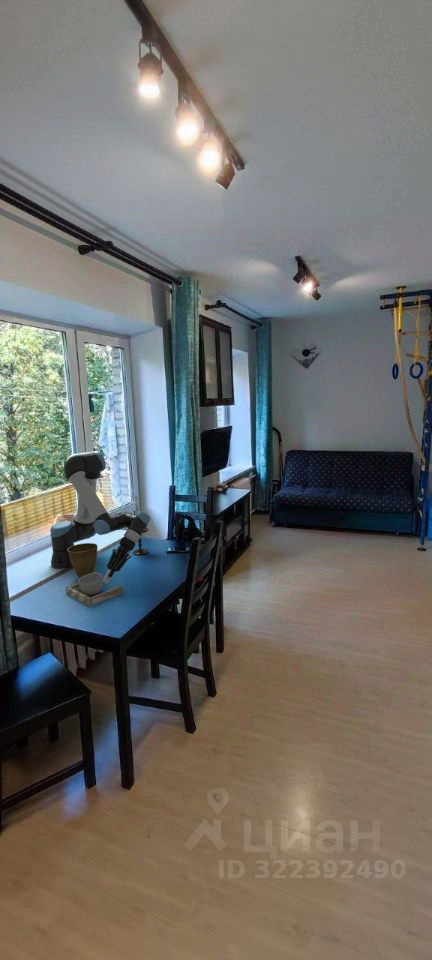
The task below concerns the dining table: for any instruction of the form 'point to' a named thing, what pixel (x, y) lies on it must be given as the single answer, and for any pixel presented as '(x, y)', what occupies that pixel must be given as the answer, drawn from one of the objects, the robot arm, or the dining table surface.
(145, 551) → the candlestick
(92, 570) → the plant pot
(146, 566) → the dining table surface
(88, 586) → the teacup
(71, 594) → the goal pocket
